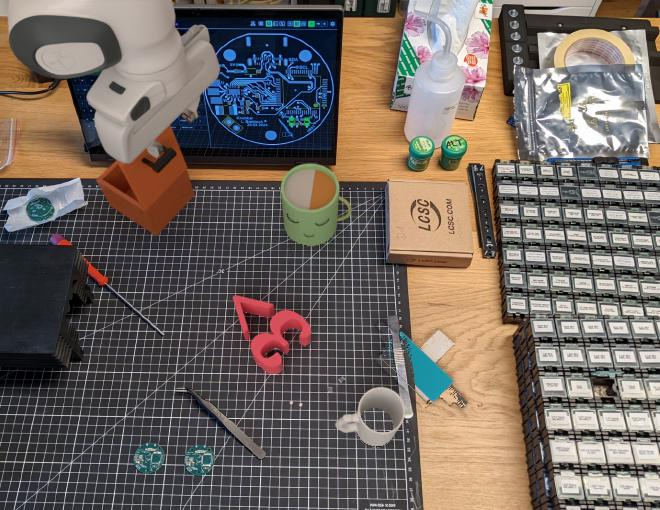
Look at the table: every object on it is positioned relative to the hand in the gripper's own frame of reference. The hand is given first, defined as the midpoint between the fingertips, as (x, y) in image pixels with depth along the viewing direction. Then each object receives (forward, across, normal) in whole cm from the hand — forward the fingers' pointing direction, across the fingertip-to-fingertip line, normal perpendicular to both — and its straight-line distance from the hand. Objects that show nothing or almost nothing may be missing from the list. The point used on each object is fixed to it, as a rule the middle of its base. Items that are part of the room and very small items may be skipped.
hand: (173, 135), depth 90 cm
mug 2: (+29, +14, +44) cm, 55 cm away
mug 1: (+29, -14, +16) cm, 36 cm away
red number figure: (+29, +10, +21) cm, 37 cm away
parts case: (+29, 0, -13) cm, 32 cm away
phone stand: (+29, -2, +46) cm, 55 cm away
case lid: (+14, 0, -8) cm, 16 cm away
